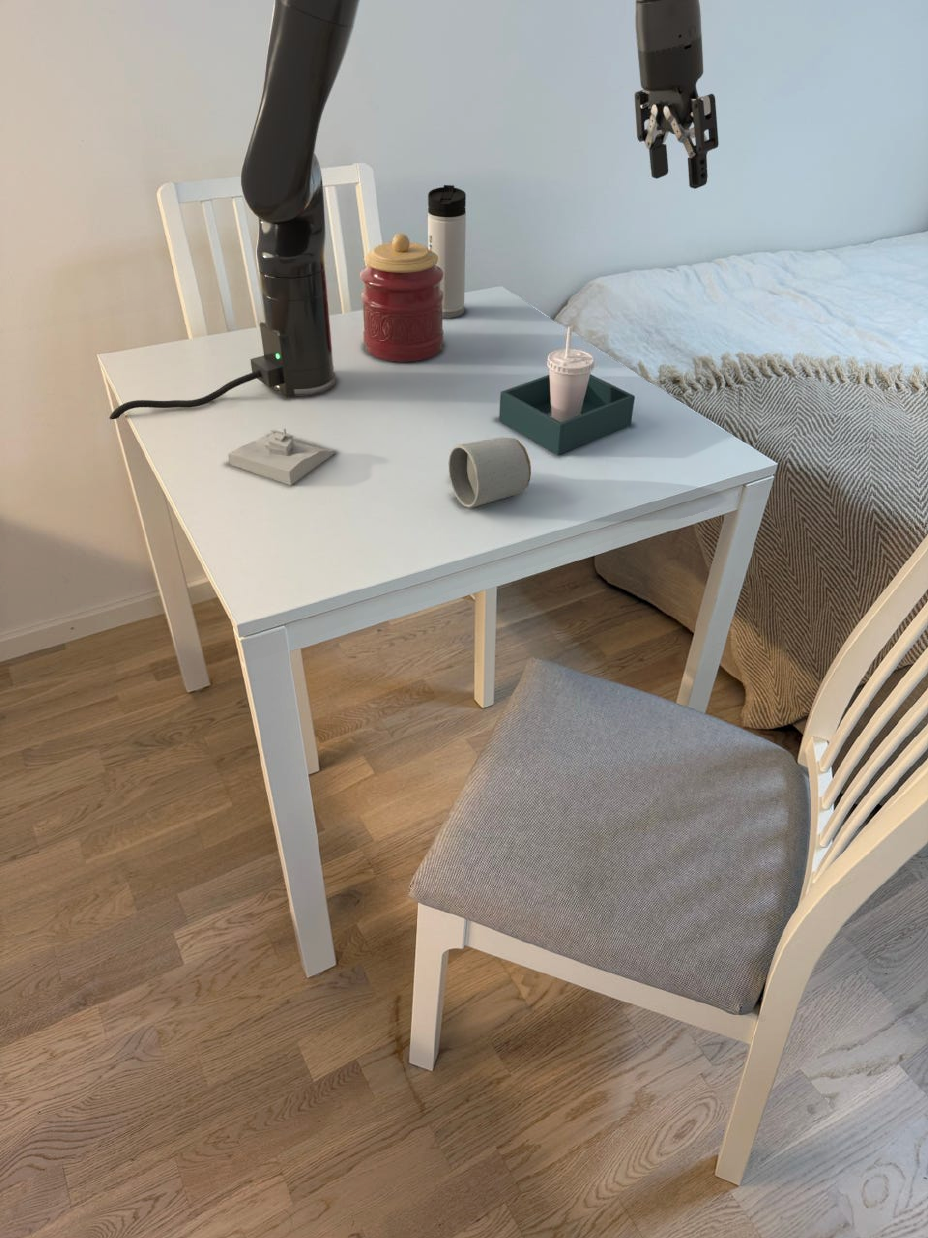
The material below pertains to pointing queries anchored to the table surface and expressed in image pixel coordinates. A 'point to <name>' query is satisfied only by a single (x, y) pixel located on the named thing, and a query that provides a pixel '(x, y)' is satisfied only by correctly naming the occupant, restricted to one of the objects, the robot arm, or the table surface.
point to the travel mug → (449, 244)
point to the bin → (598, 418)
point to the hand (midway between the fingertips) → (678, 181)
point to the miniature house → (278, 457)
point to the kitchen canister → (402, 301)
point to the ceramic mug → (488, 470)
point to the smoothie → (568, 380)
